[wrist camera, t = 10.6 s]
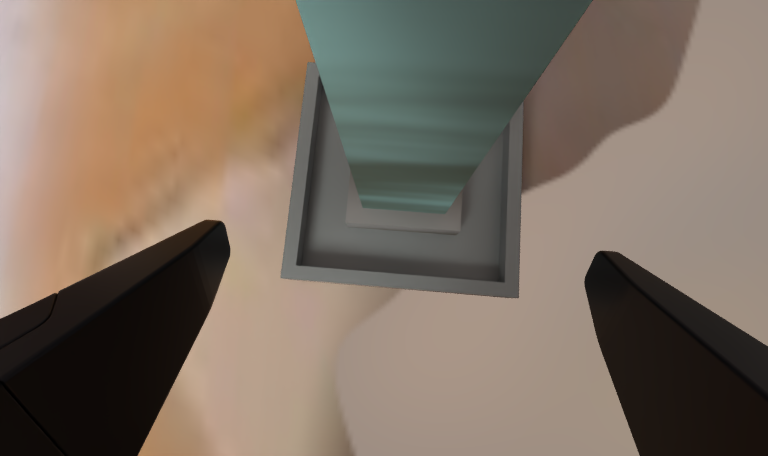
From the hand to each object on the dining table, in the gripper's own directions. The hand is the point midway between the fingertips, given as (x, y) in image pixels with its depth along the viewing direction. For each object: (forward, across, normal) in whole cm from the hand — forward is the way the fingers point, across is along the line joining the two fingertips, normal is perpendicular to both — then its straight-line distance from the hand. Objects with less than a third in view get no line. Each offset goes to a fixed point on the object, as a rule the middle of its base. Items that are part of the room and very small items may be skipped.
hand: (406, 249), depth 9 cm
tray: (+9, 0, +3) cm, 10 cm away
